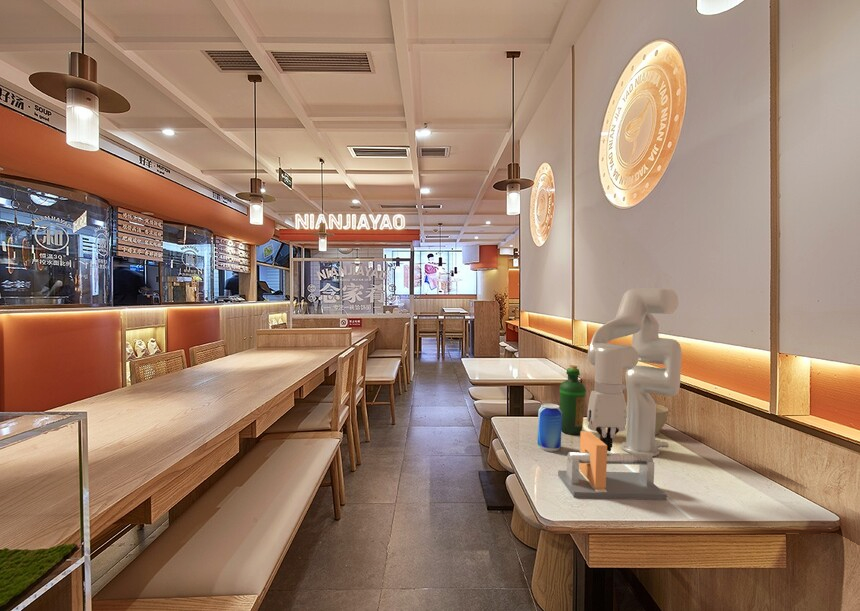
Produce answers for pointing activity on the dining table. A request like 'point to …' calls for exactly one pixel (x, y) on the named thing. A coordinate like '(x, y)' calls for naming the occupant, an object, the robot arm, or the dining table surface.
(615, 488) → the base board
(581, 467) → the collar
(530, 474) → the dining table surface
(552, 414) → the beer can
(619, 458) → the pipe
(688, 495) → the dining table surface
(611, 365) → the robot arm
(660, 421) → the planter bowl
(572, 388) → the bottle
